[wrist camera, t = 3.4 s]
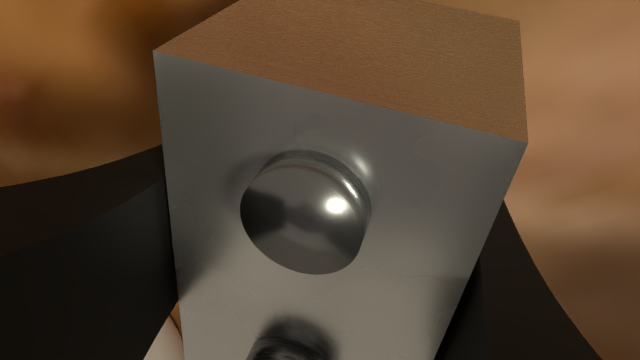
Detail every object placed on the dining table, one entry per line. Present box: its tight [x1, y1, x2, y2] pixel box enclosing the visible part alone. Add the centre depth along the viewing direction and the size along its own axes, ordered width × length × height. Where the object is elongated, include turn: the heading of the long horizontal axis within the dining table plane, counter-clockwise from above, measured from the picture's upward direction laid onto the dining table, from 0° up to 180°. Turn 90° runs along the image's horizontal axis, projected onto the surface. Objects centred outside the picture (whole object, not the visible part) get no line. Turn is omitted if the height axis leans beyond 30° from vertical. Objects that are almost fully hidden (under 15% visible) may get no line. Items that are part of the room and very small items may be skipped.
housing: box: [153, 0, 528, 360], centre depth 10 cm, size 5×8×6 cm, turn 173°
